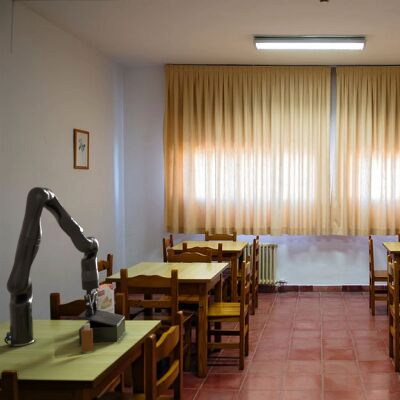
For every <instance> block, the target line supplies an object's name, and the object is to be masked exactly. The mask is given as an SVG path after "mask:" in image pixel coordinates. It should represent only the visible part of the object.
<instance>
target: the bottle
mask: <svg viewBox="0 0 400 400" xmlns="http://www.w3.org/2000/svg"><path fill="white" fill-rule="evenodd" d="M83 325H84V329H82V330H81V339H82V344H81V351H82V352H85V353H88V352H91V351H93V350H94V343H93V330H92V328H90V324H89V323H87V324H85V323H84V324H83Z"/></svg>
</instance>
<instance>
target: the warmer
mask: <svg viewBox="0 0 400 400" xmlns="http://www.w3.org/2000/svg"><path fill="white" fill-rule="evenodd" d="M87 323H89V324H90V328H92V330H93V344H102V343H118V342H119V341H120V339H121V338H122V337H123V336H124V334H125V332H126V318H125V317H124V319H123V320H122V321H121V322H120V323H119V325H118V326H117V327H116V326H112V325H107V324H103V323H98V322H94V321H89V320H86V322H85V323H84V324H87ZM84 324H83V325H81V327H79V329H78V340H79V342H78V343H79V345H82V339H81V330H82V329H84Z"/></svg>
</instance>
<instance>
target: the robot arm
mask: <svg viewBox="0 0 400 400" xmlns="http://www.w3.org/2000/svg"><path fill="white" fill-rule="evenodd" d="M24 209H25V211H24V216H23V219H22V224H21V229H20V232H19V235H18V239H17V244H16V249H15V254H14V259H13V265H12V268H11V271H10V274H9V276H8V279H7V282H6V290H7V292H8V293H9V296H10V297H9V302H8V311H9V331H7V332H6V335H5V337H4V339H3V340H4V343H5V344H6V345H9V343H10V347H11V348H12V347H24V346H27V345H30V344H33V343H34V342H35V337H34V321H33V320H34V319H33V280H32V277H31V276H30V273H31V269H32V266H33V264H34V261H35V260H36V256H37V254H38V252H39V250H40V246H41V242H42V238H43V230H42V229H43V228H42V222H41V220H42V219H41V218H42V213H43V210H44V209H45V210H47V211H48V212H49V213H50V214H51V215H52V217H54V219H55V221H56V223H57V225H58V226H59V229H61V231H62V232H64V233H65V235H66V236H67V237H68V238H69V239H70V241H71V243H72V244H73V246H74V248H75V249H76V250H77V251H78V252H80V253H83V257H82V258H81V259H80V271H81V272H80V281H81V289H82V290H83V291H86V293H85V295H84V296H83V298H84V299H83V300H84V307H85V308H86V307H87V310H88V316H91V315H93V312H96V311H97V304H96V303H97V301H98V289H97V288H99V286H100V277H99V269H98V253H99V241H98V240H97V238H96V237H94V236H85V234H84V228H83V227H82V226H81V225H80V223H78V222H77V221H76V220H75V219H74V218H73V217H72V216H71V214H70V213H69V212H68V211H67V210H66V209H65V207H64V206H63V204H62V203H61V202H60V201H59V199H58V197H57V196H56V194H55V193H54V192H53V190H52V189H50V188H48V187H42V186H35V187H32V188H31V189H30V190H29V191H28V193H27V196H26V200H25V208H24ZM89 304H90V305H89ZM93 304H94V306H93Z"/></svg>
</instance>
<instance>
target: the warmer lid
mask: <svg viewBox="0 0 400 400" xmlns="http://www.w3.org/2000/svg"><path fill="white" fill-rule="evenodd" d="M88 305H90V304H88ZM93 306H94V304H93ZM124 318H125V315H123V314H118V313H115V312H114V313H110V312H105V311H101V310H97V311H96V312H93V315H91V316H88V310H87V307H85V310H84V311H83V312H82V313H80V314H78V316H77V319H80V320H86V321H88V320H89V321H94V322H98V323H103V324H107V325H112V326H116V327H117V326H118V325H119V323H120V322H121V321H122V320H123V319H124Z"/></svg>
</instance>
